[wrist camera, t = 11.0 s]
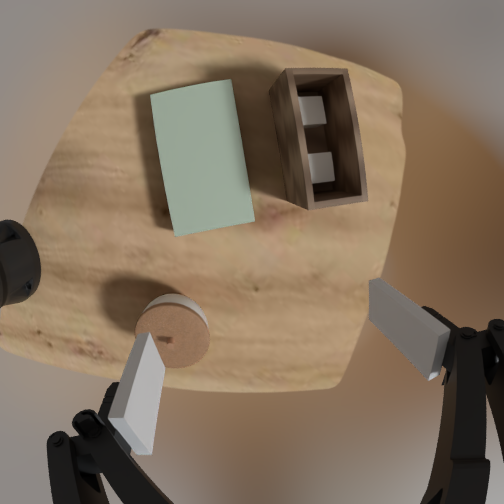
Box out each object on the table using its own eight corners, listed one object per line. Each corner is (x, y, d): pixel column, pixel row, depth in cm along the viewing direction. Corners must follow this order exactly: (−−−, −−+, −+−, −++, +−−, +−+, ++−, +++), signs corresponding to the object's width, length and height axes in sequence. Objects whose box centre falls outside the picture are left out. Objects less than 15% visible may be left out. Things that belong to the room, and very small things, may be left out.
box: (336, 193, 42) (368, 201, 32) (287, 201, 41) (308, 210, 32) (319, 88, 37) (347, 68, 27) (268, 90, 36) (285, 68, 27)
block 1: (290, 129, 38) (298, 125, 34) (286, 103, 36) (293, 97, 33) (316, 127, 38) (326, 123, 34) (311, 102, 37) (321, 96, 33)
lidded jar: (132, 309, 43) (116, 340, 34) (177, 269, 42) (168, 295, 33) (178, 351, 46) (172, 386, 37) (223, 316, 45) (226, 349, 36)
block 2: (299, 183, 40) (307, 184, 36) (295, 156, 39) (303, 154, 35) (324, 179, 40) (335, 180, 36) (320, 153, 39) (331, 151, 35)
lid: (251, 217, 42) (255, 221, 38) (178, 231, 41) (175, 236, 37) (229, 86, 36) (231, 79, 32) (155, 100, 35) (150, 94, 31)
